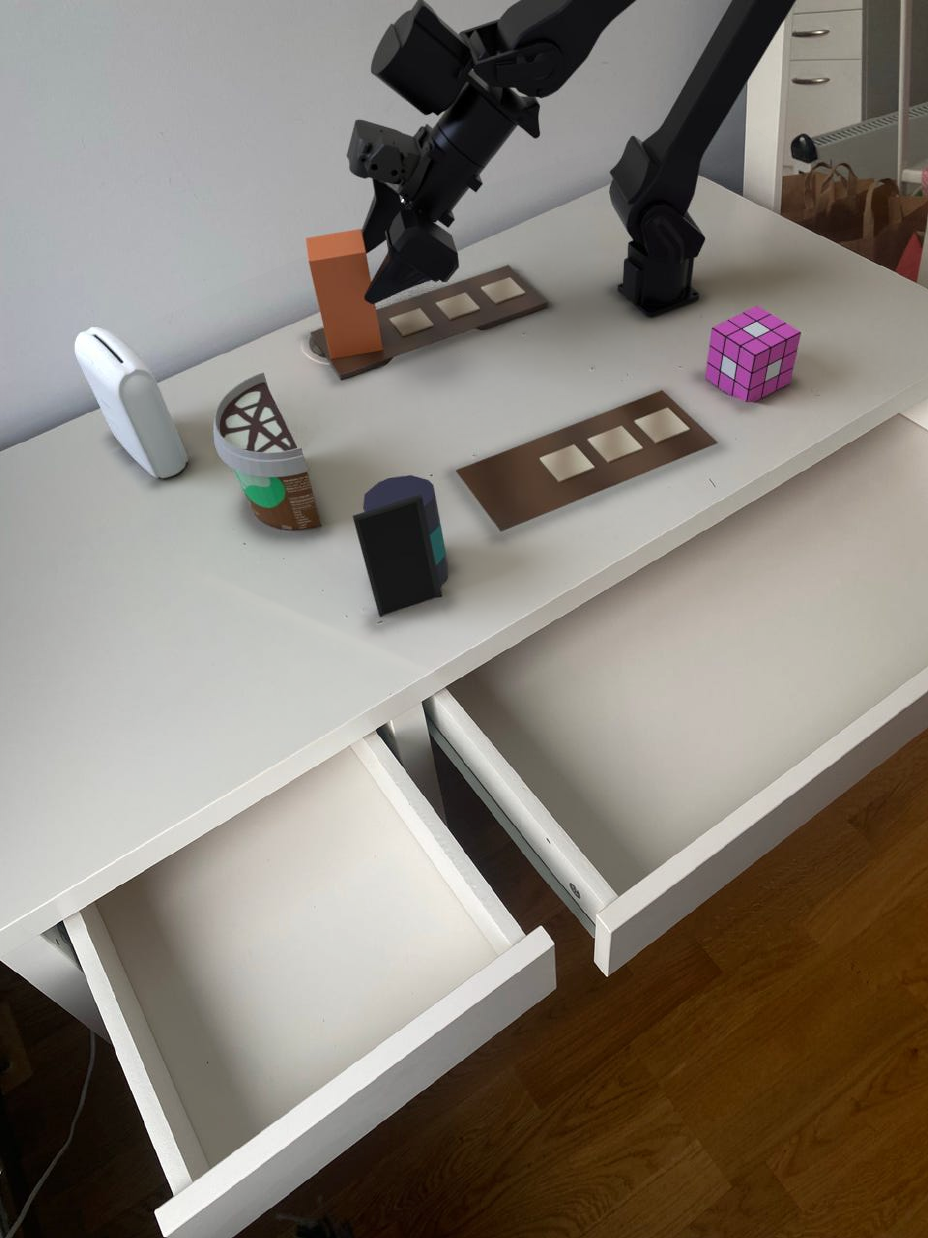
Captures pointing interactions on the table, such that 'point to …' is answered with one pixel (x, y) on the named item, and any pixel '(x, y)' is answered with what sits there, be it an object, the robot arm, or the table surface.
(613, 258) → the table surface
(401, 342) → the word board
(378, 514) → the speaker
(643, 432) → the word board
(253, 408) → the food container
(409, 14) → the robot arm
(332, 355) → the tall orange brick
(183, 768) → the table surface
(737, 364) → the puzzle toy
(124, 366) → the photo printer
